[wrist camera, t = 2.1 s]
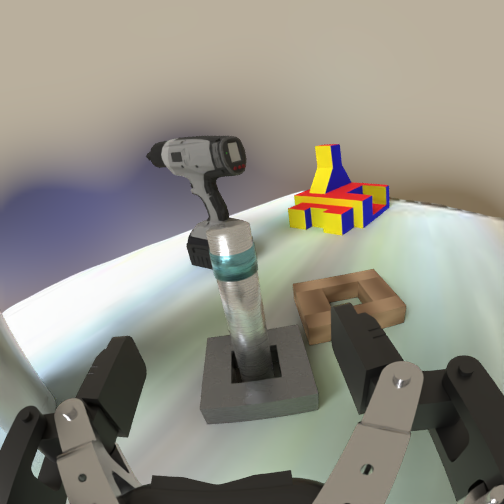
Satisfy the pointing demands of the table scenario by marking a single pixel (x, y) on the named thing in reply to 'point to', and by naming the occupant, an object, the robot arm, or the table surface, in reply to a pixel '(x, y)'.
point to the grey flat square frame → (258, 392)
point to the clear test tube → (241, 297)
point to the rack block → (340, 288)
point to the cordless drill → (202, 179)
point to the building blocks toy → (337, 198)
